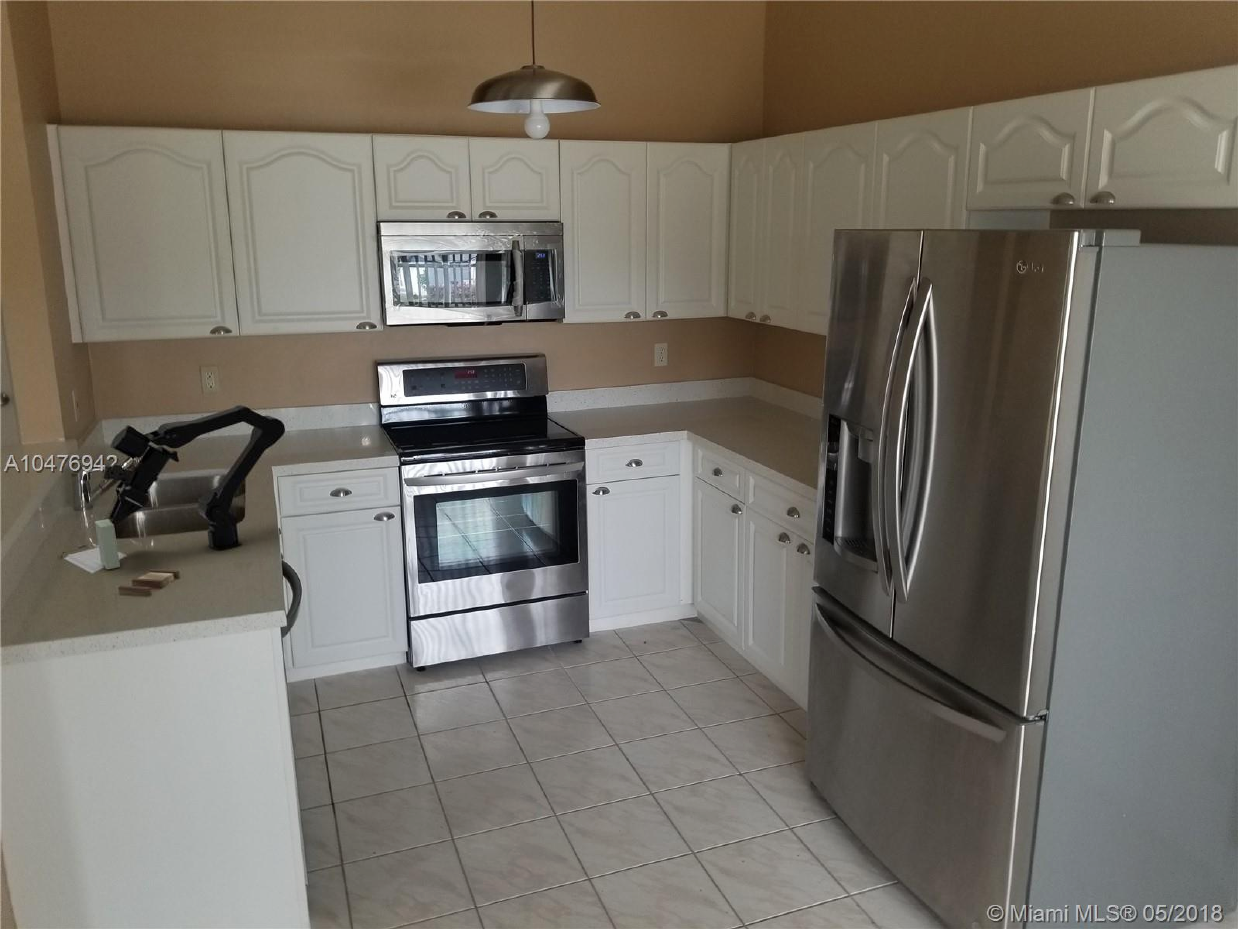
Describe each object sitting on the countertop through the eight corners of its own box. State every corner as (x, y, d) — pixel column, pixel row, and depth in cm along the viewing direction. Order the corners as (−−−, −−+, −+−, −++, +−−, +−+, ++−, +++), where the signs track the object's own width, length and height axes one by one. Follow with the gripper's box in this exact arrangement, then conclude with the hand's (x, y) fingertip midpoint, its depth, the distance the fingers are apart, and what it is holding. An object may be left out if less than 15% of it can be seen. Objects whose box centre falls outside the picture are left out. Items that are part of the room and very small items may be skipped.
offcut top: (149, 575, 224) (149, 572, 224) (173, 576, 223) (173, 573, 223) (138, 581, 220) (138, 578, 220) (163, 582, 219) (162, 579, 219)
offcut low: (150, 578, 224) (149, 575, 224) (174, 579, 223) (173, 576, 223) (139, 584, 220) (138, 581, 220) (163, 586, 219) (163, 582, 219)
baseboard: (109, 590, 221) (159, 576, 230) (108, 579, 221) (158, 565, 230) (57, 562, 240) (106, 550, 249) (56, 552, 240) (104, 540, 249)
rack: (152, 579, 226) (150, 569, 225) (180, 580, 225) (179, 570, 224) (119, 597, 215) (118, 587, 214) (149, 599, 214) (147, 588, 213)
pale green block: (114, 560, 236) (108, 519, 234) (120, 566, 231) (113, 524, 229) (101, 562, 234) (94, 521, 232) (106, 569, 229) (100, 527, 227)
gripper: (116, 448, 237) (79, 500, 234) (120, 454, 221) (81, 510, 218) (157, 470, 243) (121, 522, 239) (164, 477, 227) (126, 533, 224)
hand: (112, 521), depth 230 cm, fingers open, 9 cm apart
